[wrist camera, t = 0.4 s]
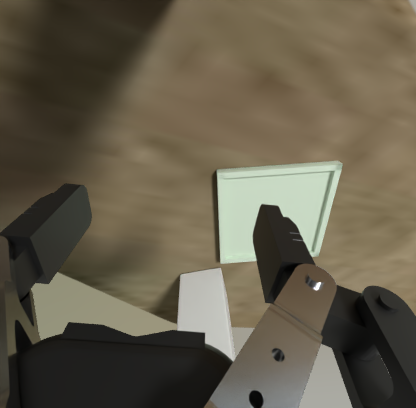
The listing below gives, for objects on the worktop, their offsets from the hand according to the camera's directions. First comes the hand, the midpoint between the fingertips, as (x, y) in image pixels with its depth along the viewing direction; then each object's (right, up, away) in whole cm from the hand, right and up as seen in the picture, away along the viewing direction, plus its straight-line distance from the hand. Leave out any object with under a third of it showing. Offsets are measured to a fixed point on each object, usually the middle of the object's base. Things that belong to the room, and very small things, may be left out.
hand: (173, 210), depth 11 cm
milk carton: (+1, -14, +31) cm, 34 cm away
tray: (+11, -1, +24) cm, 26 cm away
